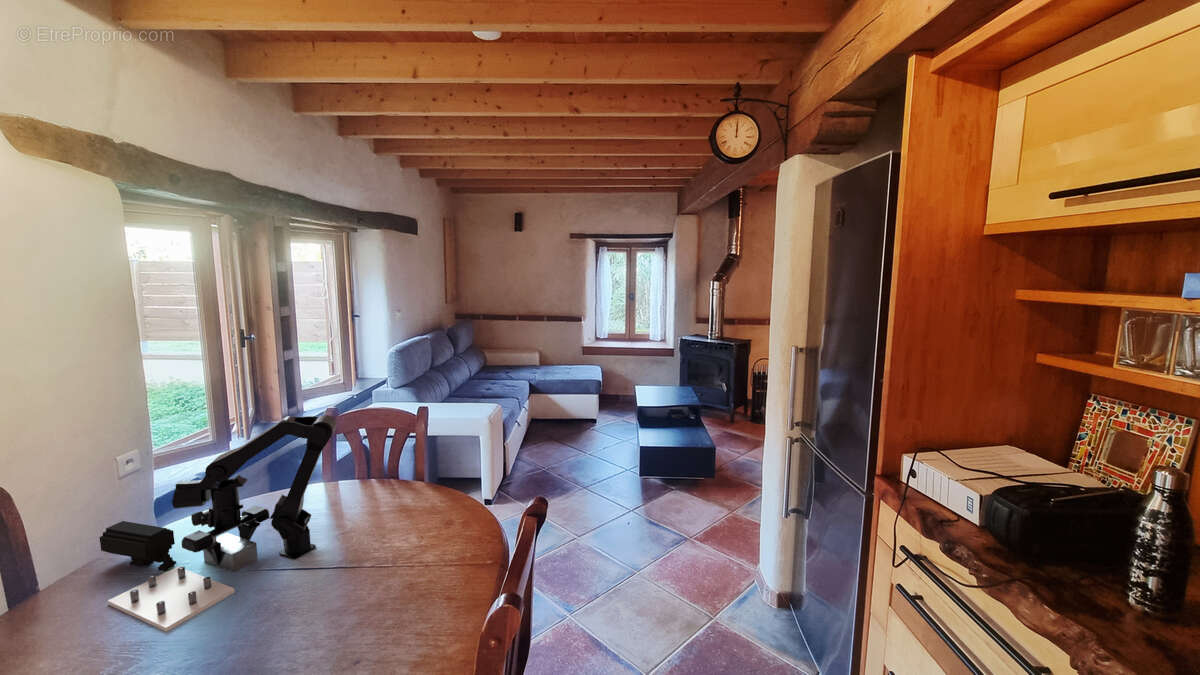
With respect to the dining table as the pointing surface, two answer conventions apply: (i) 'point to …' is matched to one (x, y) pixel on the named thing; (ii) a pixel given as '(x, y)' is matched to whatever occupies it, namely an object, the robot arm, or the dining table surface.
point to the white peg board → (171, 598)
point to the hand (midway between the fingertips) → (230, 556)
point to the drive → (234, 552)
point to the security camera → (140, 543)
